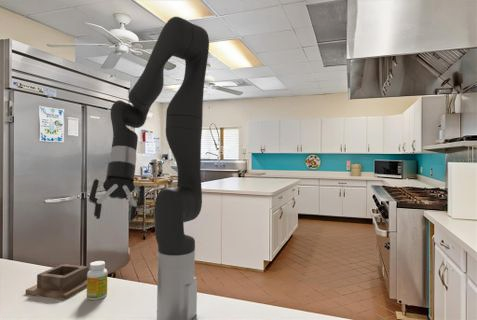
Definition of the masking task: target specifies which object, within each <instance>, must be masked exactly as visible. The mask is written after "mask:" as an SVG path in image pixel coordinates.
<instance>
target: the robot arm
mask: <svg viewBox="0 0 477 320" xmlns="http://www.w3.org/2000/svg"><path fill="white" fill-rule="evenodd" d="M209 50H210V38H209V34H208V32H207V30H206V29H205V28H204V27H202V26H200V25H198V24H196V23H194V22H192V21H190V20H188V19H186V18H183V17H180V16H173V17H171V18H169V20H167V21H166V23H165V24H164V26H163V28H162V29H161V31H160V34H159V35H158V38H157V39H156V42H155V45H154V47H153V49H152V51H151V53H150V56H149V58H148V60H147V63H146V64H145V67H144V70H143V71H142V73H141V74H140V76H139V78H138V80H137V81H136V82H135V83H134V85H133V86H132V88H131V89H130V91H129V93H128V96H127V98H128V101H129V102H128V101H126V100H123V99H121V100H120V99H119V100H116V101H114V103H112V105H111V108H110V121H111V126H112V134H113V135H112V143H111V148H110V153H109V156H108V160H107V161H108V162H107V168H106V177H105V180H104V181H100V180H98V179H94V180H93V181H92V184H91V188H90V193H89V196H88V202H89V203H93V204H94V212H93V217H95V219H96V220H100V218H101V214H102V213H101V211H102V206H103V204H102V203H103V202H104V201H105V200H107V198H108V197H109V198H111V199H119V200H125V201H126V202H127V203H128V205H129V206H130V208H129V210H128V211H129V213H128V222H132V221H133V220H134V219H135V218H136V215H137V214H136V213H137V208H140V207H142V206H143V205H145V186H144V185H135V183H134V182H135V181H134V180H135V173H136V172H135V171H136V166H137V165H136V164H137V148H138V143H139V142H138V140H139V136H138V133H136V132H135V131H133V130H132V129H130V128H133V129H139V128H141V127H143V126H144V125H145V123H146V121H147V117H148V114H149V111H150V109H151V106H152V105H153V104H154V103H155V101H156V100H157V99H158V97H159V96H160V95H161V93H162V91H163V88H164V85H165V83H164V70H165V69H164V68H165V66H166V64H167V63H168V61H169V60H170V59H171V58H172V57H176V58H178V59H182V60H183V61H185V64H184V65H185V67H184V75H183V80H182V82H181V85H179V87H178V89H177V91H176V93H174V96H173V97H172V98H171V100H170V102H169V103H168V106H167V108H166V113H165V137H166V141H167V144H168V146H169V149H170V152H171V154H172V156H173V158H174V160H175V164H176V168H177V186H175V187H174V186H173V187H166V188H164V189H162V190H160V191H159V192H158V193H157V195H156V198H155V201H154V230H155V231H154V235H155V236H154V237H155V240H156V242H157V282H156V283H157V287H156V293H157V296H156V320H193V319H194V318H193V317H195V316H196V315H197V313H198V312H197V310H198V309H197V305H198V304H197V303H198V302H197V301H198V277H197V276H195V268H196V267H195V266H196V265H195V263H196V262H195V261H196V253H195V252H196V239H195V238H194V237H193V236H191V235H189V234H185V228H184V224H185V223H186V222H191V221H193V220H196V219H197V218H198V216H199V215H200V213H201V211H202V206H203V192H202V190H203V188H202V176H201V175H202V174H201V173H202V172H201V168H202V167H201V163H202V162H201V160H202V157H201V156H202V151H201V150H202V135H203V134H202V132H203V109H204V108H203V107H204V93H205V91H204V90H205V79H206V74H207V73H206V71H207V64H208V57H209ZM129 127H130V128H129ZM101 187H103V189H104V191H105V192H104V193H103V194H102V195H100V197H99V198H96V195H97V190H98V189H100V188H101ZM133 191H135V193H136V194H137V202H136V200H135V197H134V196H133V194H132V192H133ZM192 318H193V319H192Z"/></svg>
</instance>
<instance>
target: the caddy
mask: <svg viewBox="0 0 477 320" xmlns="http://www.w3.org/2000/svg"><path fill="white" fill-rule="evenodd" d="M88 272H89V266H85V265H78V264H77V265H76V264H67V263H62V264H60V265H59V264H58V265H57V266H55V267H52V268H49V269H48V270H47V269H46V270H45V271H43V272H40V273H38V274H37V275H36V284H35V285H33V286H31V287H29V288H26V289H25V295H31V296H37V297H38V296H39V297H45V298H53V299H59V300H68V299H70V298H72V297H73V296H75V295H76V294H78V293H80V292H81V291H83V290H85V289H87V273H88Z"/></svg>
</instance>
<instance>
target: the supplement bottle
mask: <svg viewBox="0 0 477 320" xmlns="http://www.w3.org/2000/svg"><path fill="white" fill-rule="evenodd" d="M105 267H106V262H105V261H104V260H96V261H92V262H90V263H89V270H88V273H87V288H86V299H88V300H90V301H97V300H102V299H103V298H106V296H107V294H108V270H107V268H105Z"/></svg>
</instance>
